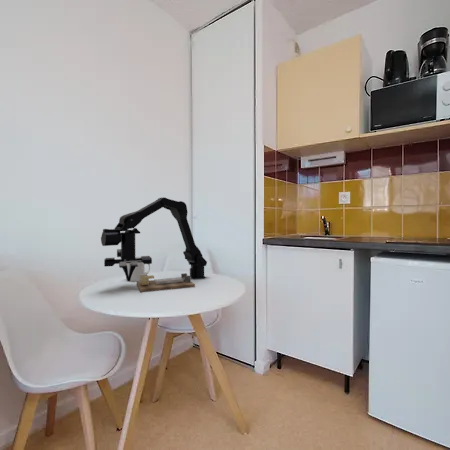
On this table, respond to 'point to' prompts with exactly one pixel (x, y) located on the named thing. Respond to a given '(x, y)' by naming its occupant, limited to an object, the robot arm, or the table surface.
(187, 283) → the base
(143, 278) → the gold t-shaped block
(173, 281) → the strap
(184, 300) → the table surface
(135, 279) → the mug
